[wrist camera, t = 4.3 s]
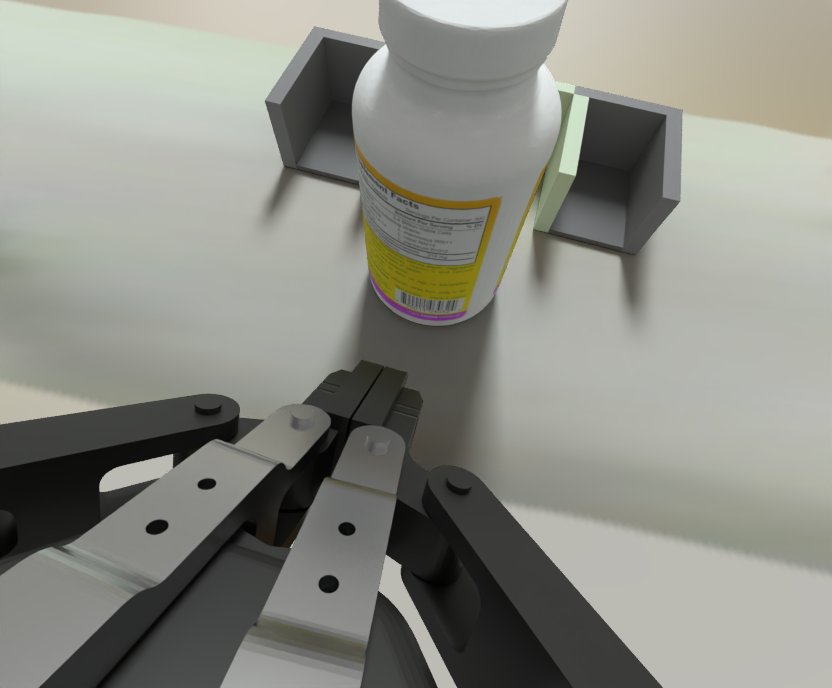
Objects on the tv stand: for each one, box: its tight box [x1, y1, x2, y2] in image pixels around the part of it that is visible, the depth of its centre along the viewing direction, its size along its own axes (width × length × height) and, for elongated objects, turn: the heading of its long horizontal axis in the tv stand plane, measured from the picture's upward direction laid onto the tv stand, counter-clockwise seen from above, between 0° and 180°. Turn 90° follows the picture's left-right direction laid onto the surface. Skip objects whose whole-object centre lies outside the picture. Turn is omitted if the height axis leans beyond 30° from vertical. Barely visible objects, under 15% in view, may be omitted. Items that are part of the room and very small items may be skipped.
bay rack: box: [265, 27, 683, 255], centre depth 23 cm, size 20×6×4 cm, turn 74°
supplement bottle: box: [352, 0, 568, 326], centre depth 16 cm, size 7×7×13 cm
